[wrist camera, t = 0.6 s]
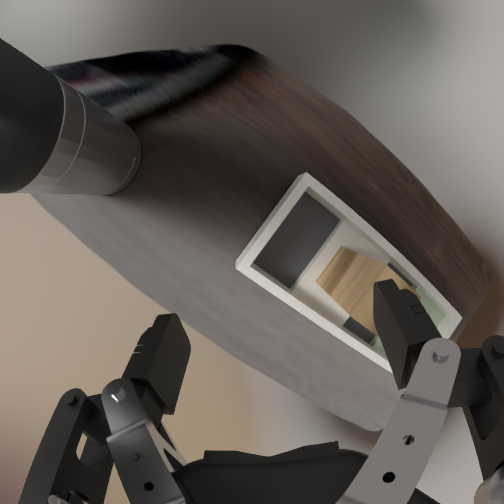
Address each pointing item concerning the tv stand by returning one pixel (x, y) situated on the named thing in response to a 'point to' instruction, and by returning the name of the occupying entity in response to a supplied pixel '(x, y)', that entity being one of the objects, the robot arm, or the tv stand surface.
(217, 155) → the tv stand surface
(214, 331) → the tv stand surface
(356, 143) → the tv stand surface
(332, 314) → the box
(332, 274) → the oak post
